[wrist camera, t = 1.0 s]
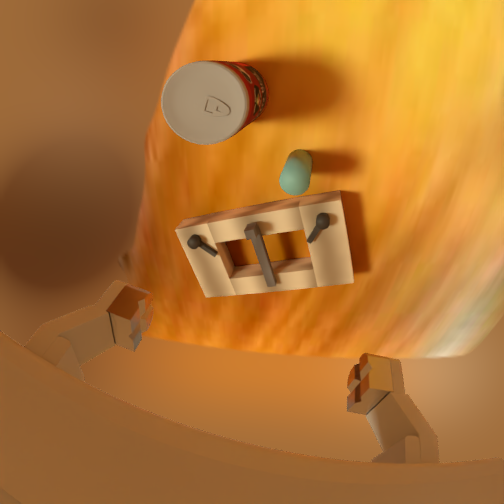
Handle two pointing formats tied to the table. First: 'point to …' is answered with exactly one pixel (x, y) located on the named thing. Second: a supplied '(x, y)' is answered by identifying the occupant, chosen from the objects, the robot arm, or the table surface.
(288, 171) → the pale green rounded block
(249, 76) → the canned food
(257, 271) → the shelf
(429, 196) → the table surface
